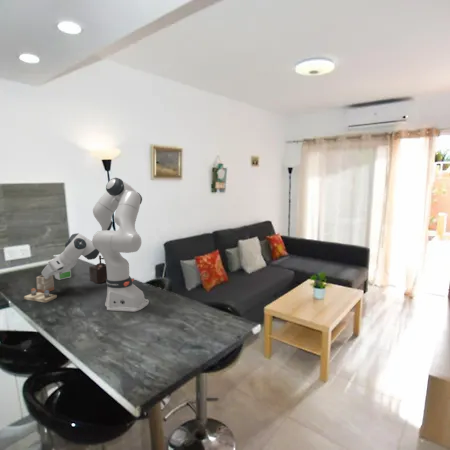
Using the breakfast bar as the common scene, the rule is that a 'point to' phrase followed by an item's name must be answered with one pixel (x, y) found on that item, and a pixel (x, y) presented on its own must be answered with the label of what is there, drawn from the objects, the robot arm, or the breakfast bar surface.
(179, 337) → the breakfast bar surface
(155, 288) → the breakfast bar surface
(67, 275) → the skincare box
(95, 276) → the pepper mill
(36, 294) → the pin board
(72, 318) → the breakfast bar surface
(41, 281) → the sleeve
